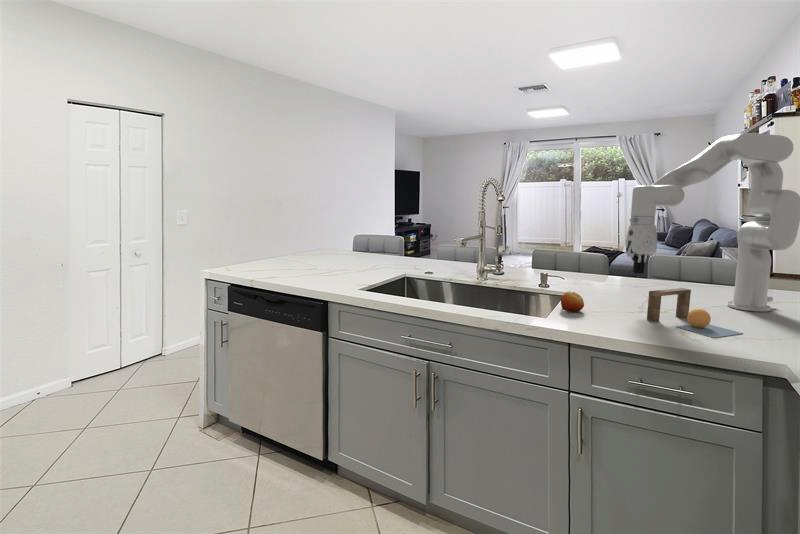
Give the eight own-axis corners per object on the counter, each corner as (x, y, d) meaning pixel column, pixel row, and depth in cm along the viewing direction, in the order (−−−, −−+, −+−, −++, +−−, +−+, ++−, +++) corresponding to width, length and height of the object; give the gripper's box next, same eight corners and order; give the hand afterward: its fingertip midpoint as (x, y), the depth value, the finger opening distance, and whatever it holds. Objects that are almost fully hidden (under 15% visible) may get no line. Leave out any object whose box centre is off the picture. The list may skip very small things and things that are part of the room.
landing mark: (703, 323, 143) (703, 322, 143) (743, 333, 132) (743, 333, 132) (676, 327, 139) (676, 326, 139) (714, 338, 128) (714, 337, 128)
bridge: (646, 319, 148) (649, 291, 146) (680, 315, 153) (682, 287, 151) (654, 322, 145) (657, 292, 143) (688, 317, 150) (691, 289, 148)
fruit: (559, 303, 165) (572, 286, 162) (577, 316, 162) (590, 299, 158) (551, 307, 159) (564, 289, 156) (570, 321, 156) (583, 304, 152)
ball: (707, 304, 138) (719, 320, 135) (695, 315, 143) (706, 331, 139) (691, 305, 137) (702, 321, 133) (679, 316, 142) (690, 332, 138)
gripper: (634, 222, 150) (630, 276, 153) (667, 221, 155) (663, 273, 158) (617, 221, 157) (613, 272, 160) (649, 220, 162) (645, 270, 165)
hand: (638, 272), depth 159 cm, fingers closed
